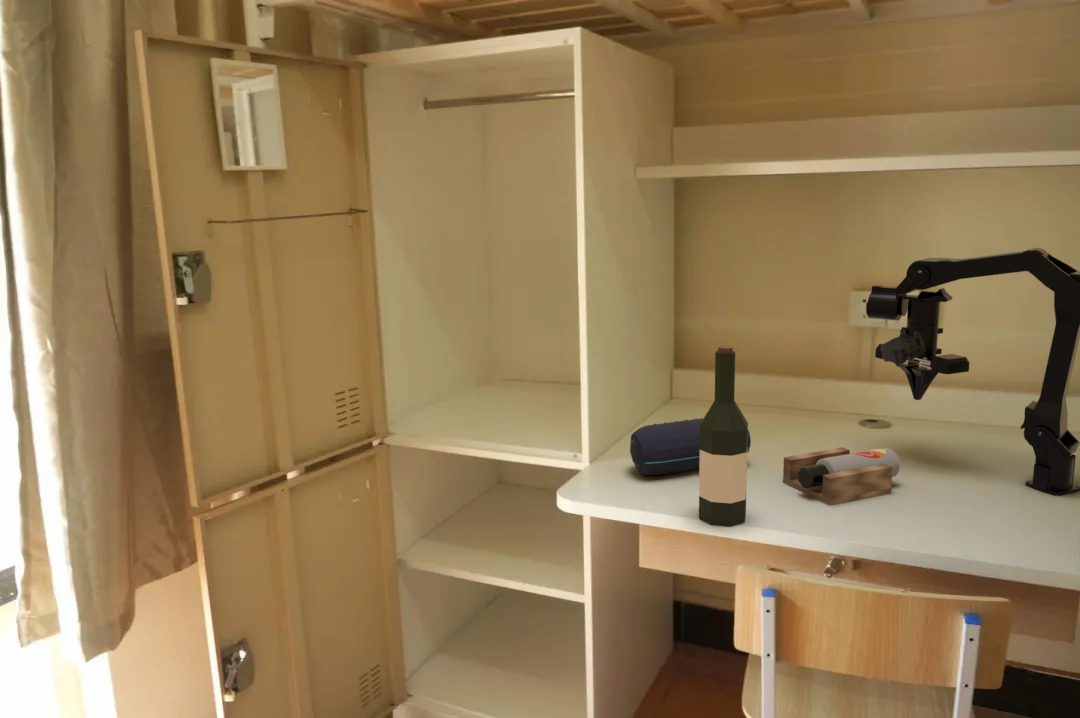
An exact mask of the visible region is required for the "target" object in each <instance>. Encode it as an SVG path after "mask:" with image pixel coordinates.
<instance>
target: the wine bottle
mask: <svg viewBox="0 0 1080 718" xmlns="http://www.w3.org/2000/svg"><path fill="white" fill-rule="evenodd" d="M714 354H715V355H714V356H715V357H714V369H715V370H714V401H713V402H712V404H711V405H710V407H709V408H708V410H707V412H706V413H705V415H704V417H702V418H703V420H702V422H701V425H700V467H699V473H698V475H699V476H698V477H699V482H698V484H699V485H698V486H699V487H698V491H699V492H698V519H699V520H700V521H703V522H704V523H706V524H708V525H709V526H719V527H729V528H730V527H736V526H739V525H742V524H745V523H746V519H747V518H746V516H747V484H748V483H747V481H748V480H747V479H748V476H747V475H748V453H747V446H748V430H749V423H748V420H747V419H746V416H745V415H744V414H743V412H742V410H741V408H740V407H739V405H738V404H737V402H736V400H735V387H736V385H735V382H736V381H735V380H736V351H735V350H734V348H733V346H731V345H719V346H717V350H716V351H715V352H714Z"/></svg>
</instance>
